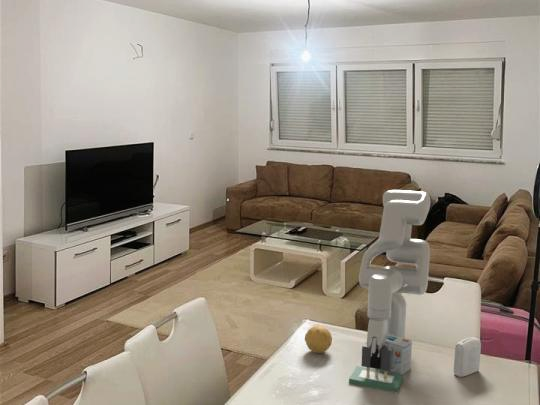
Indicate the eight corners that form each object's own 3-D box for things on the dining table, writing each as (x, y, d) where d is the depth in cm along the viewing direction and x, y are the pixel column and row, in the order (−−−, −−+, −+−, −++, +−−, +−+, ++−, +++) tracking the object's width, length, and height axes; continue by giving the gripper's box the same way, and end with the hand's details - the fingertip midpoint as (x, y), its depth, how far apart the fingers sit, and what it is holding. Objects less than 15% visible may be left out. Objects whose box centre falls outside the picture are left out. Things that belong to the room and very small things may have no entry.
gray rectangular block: (364, 361, 193) (365, 341, 191) (392, 366, 189) (393, 346, 188) (361, 366, 189) (362, 346, 188) (389, 371, 185) (390, 351, 184)
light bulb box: (374, 366, 201) (375, 337, 199) (384, 359, 206) (386, 331, 204) (401, 376, 194) (402, 346, 192) (411, 369, 199) (412, 340, 197)
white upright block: (470, 366, 201) (473, 333, 199) (481, 371, 198) (483, 337, 195) (451, 373, 196) (453, 339, 193) (461, 378, 192) (464, 344, 190)
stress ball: (318, 347, 218) (299, 332, 216) (336, 330, 215) (316, 315, 213) (320, 363, 208) (300, 347, 206) (338, 345, 206) (318, 330, 204)
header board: (356, 369, 198) (357, 357, 197) (403, 379, 191) (403, 366, 191) (348, 382, 189) (349, 369, 188) (397, 392, 182) (398, 379, 182)
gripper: (373, 302, 195) (371, 352, 198) (361, 318, 180) (359, 373, 183) (395, 305, 192) (393, 356, 195) (385, 322, 177) (382, 377, 180)
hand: (376, 364), depth 189 cm, fingers closed on gray rectangular block, 4 cm apart
